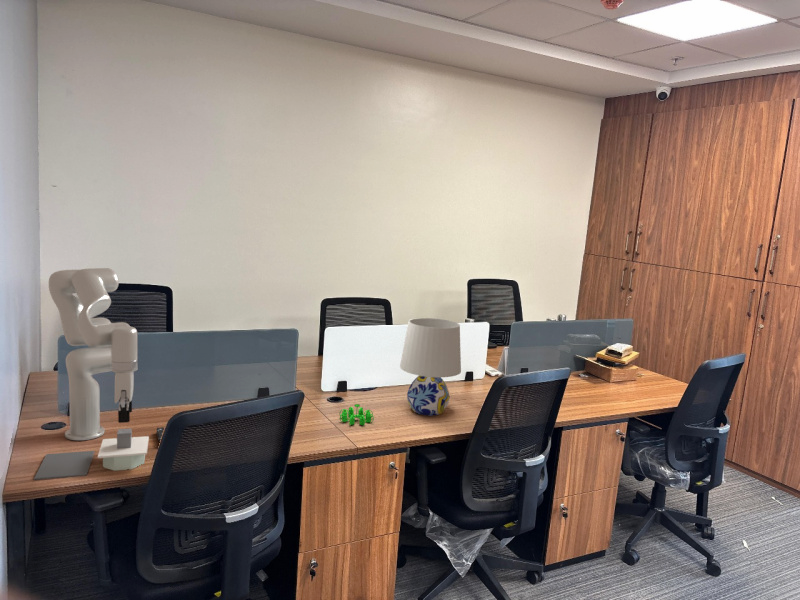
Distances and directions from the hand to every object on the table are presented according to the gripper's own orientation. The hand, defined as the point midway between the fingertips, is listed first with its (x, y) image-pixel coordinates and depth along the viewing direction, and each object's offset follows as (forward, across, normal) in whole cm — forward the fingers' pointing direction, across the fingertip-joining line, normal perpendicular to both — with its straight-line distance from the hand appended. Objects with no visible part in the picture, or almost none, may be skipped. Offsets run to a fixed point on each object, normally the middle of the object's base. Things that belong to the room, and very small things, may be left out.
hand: (125, 417), depth 189 cm
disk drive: (+16, -18, +14) cm, 28 cm away
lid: (+10, -1, 0) cm, 11 cm away
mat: (+15, -2, -18) cm, 23 cm away
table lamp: (+16, -32, +120) cm, 126 cm away
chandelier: (+17, -25, +85) cm, 91 cm away
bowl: (+16, -1, 0) cm, 16 cm away
